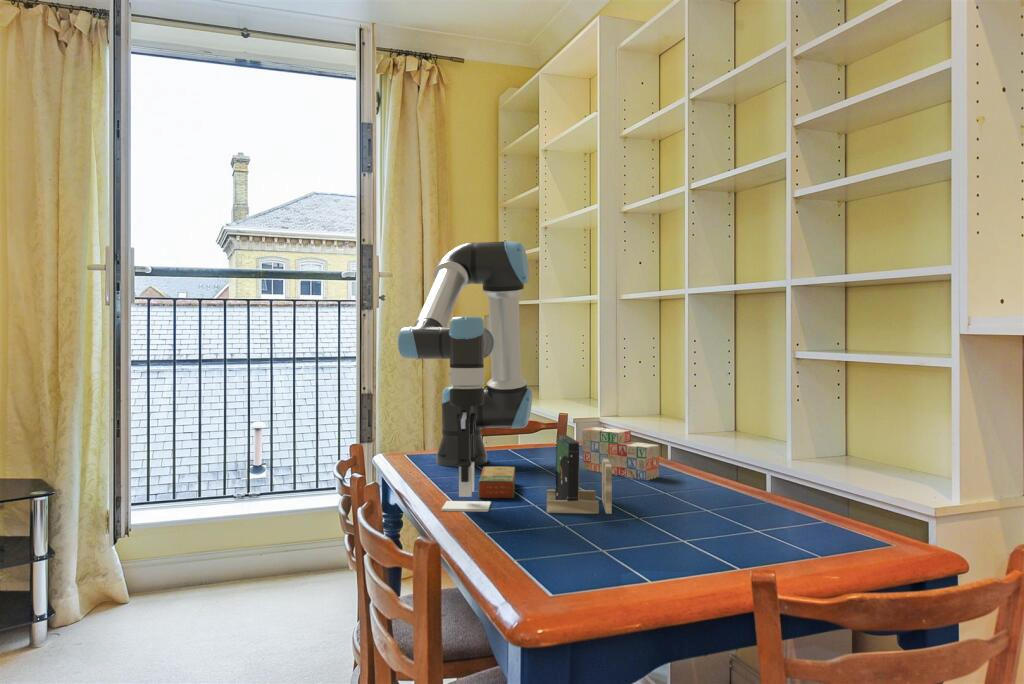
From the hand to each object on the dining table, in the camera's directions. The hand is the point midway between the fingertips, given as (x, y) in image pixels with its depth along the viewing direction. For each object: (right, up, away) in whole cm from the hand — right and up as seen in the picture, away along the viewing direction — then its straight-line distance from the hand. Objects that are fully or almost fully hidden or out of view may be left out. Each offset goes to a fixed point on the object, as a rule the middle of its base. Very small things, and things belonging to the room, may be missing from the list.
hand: (466, 493), depth 149 cm
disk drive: (+22, -3, +1) cm, 22 cm away
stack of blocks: (+39, -3, +36) cm, 53 cm away
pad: (0, -3, 0) cm, 3 cm away
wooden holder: (+24, -3, +1) cm, 25 cm away
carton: (+6, -5, +22) cm, 23 cm away
